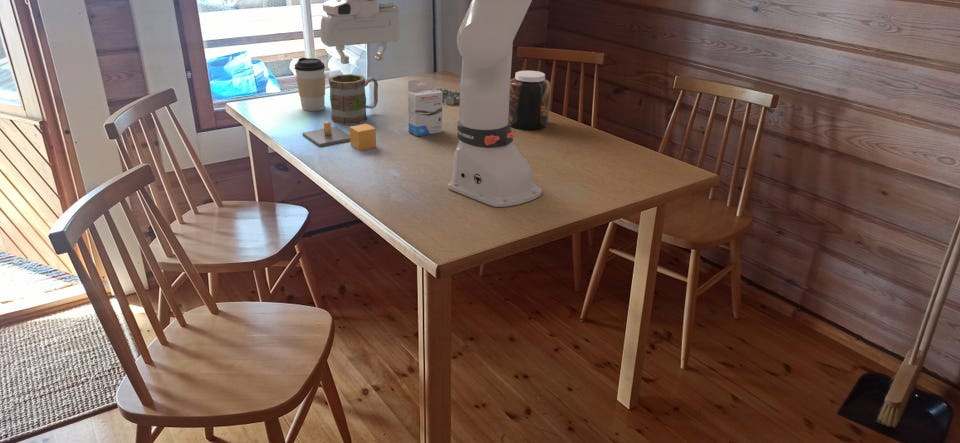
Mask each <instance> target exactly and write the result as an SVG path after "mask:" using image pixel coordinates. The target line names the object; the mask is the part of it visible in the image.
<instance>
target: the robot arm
mask: <svg viewBox="0 0 960 443" xmlns="http://www.w3.org/2000/svg"><path fill="white" fill-rule="evenodd" d="M532 1H533V0H471V2H470V5H469V7H468V9H467V11H466V12H465V15H464V18H463V20H462V22H461V24H460V26H459V29H458V32H457V35H456V45H457V49H458V52H459V54H460V57H461V58H462V62H461V72H460V73H461V74H460V84H459V90H460V103H459V120H458V122H457V127H456V133H457V135H456V136H457V139H458V143H457V146H456V149H455V150H454V154H453V162H452V172H451V174H452V175H451V180H449V182H448V184H447V189H448V190H451V191H454V192H455V193H459V194H460V195H463V196H466V197H468V198H471V199H473V200H476V201H479V202H481V203H484V204H486V205H488V206H491V207H494V208H499V207H500V208H504V207H511V206H516V205H521V204H524V203H527V202H530V201H533V200H535V199H537V198H538V197H541V195H542V194H543V191H542V188H540V187H539V186H538V185H537V184H535V183H534V182H532V169H531V167H530V163H529V160H528V159H527V158H525V157H523V155H522V154H521V152H520V151H519V149H518V147H517V146H516V145H515V143H514V138H515V137H516V135H515V134H516V133H517V132H516V131H512V127H510V123H509V122H508V118H509V93H510V80H511V79H512V77H511V74H512V63H513V62H512V60H513V59H512V58H513V46H514V44H513V42H514V40H515V37H516V36H517V33H518V31H519V30H520V27H521V24H522V23H523V21H524V18H525V16H526V15H527V12H528V10H529V7H530V6H531V3H532ZM322 10H323V12H325V13H324V14H323V15H322V17H321V22H320V41H321V42H322V44H323V45H325V46H326V47H329V48H332V47H333V48H334V47H335V50H336V52H337V53H338V55H339V57H340V63H341V64H343V65H347V64H350V61H349V60H350V56H349V55H346V54H345V52H344V51H345V49H346V48H345V46H356V45H357V46H358V45H367V44H378V46H379V48H378V50H377V52H374V59H375V60H376V61H383V60H384V53H385V51H386V49H387V47H388V43H392V42H393V43H394V42H398V41H399V39H400V38H401V29H400V28H401V27H400V22H399V21H400V20H399V17H400V15H399V14H400V10H399V8H398V6H397V5H396V4H394V3H393V2H388V3H383V2H382V3H380V0H328V1H325V2H323V4H322Z"/></svg>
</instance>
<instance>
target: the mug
mask: <svg viewBox="0 0 960 443" xmlns="http://www.w3.org/2000/svg"><path fill="white" fill-rule="evenodd" d="M371 81H373V102H372V104H371V105H368V104H367V97H366V96H367V95H366V87H367V86H368V85H369V83H370V82H371ZM328 85H329V101H330V106H331V108H330V109H331V116H330V117H331V120H332V121H331V122H333V123H337V124H342V125H352V124H353V125H354V124H360V122H361V123H363V122H365V121H366V120H368V116H367V109H374V108H376V107H377V105H378V103H379V102H378V100H379V99H378V96H379V94H378V93H379V84H378V80H377V78H375V77H372V76H369V77H367V78H365V76H364V75H360V74H353V73H352V74H351V73H349V74H336V75H333V76H329V77H328Z"/></svg>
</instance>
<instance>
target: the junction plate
mask: <svg viewBox="0 0 960 443" xmlns="http://www.w3.org/2000/svg"><path fill="white" fill-rule="evenodd" d="M331 122H332V121H323V125H322V126H323V128H321V129H317V130H315V129H314V130H309V131H304V132H302V136H303V137H304V138H306V139H307V140H309V141H311V142H312V143H313V144H315V145H316V146H318V147H319V148H320V147H325V146H331V145H335V144H340V143H342V144H343V143H345V142H350V133H347V132H346V131H344V130H342V129H341V128H339V127H337V126H333V127H332V123H331Z"/></svg>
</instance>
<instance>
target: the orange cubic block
mask: <svg viewBox="0 0 960 443" xmlns="http://www.w3.org/2000/svg"><path fill="white" fill-rule="evenodd" d="M348 128H349V135H350V141H349V142H350V145H351V146H352V147H353V148H355V149H357V150H358V151H362V150H367V149H372V148H376V147H377V135H376V134H377V133H376V131H377V130H376V128H375V127H373V125H370V124H368V123H363V124H358V125H353V126H349V127H348Z"/></svg>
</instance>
